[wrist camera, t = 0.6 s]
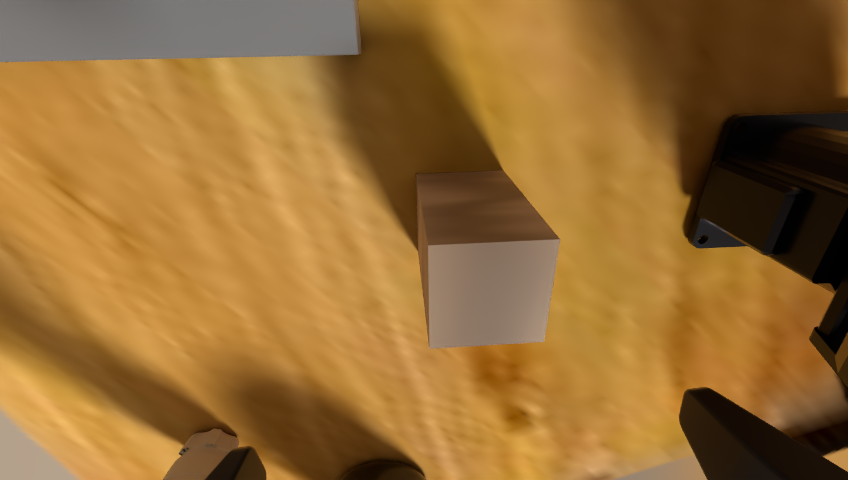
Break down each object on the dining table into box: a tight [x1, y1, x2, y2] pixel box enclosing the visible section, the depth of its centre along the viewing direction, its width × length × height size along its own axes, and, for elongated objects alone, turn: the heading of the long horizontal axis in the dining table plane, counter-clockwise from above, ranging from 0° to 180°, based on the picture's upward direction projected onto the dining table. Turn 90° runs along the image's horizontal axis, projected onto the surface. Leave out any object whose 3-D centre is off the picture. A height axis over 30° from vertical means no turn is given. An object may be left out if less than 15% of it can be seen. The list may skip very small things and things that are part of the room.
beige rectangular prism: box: [416, 170, 560, 349], centre depth 16 cm, size 4×4×7 cm
